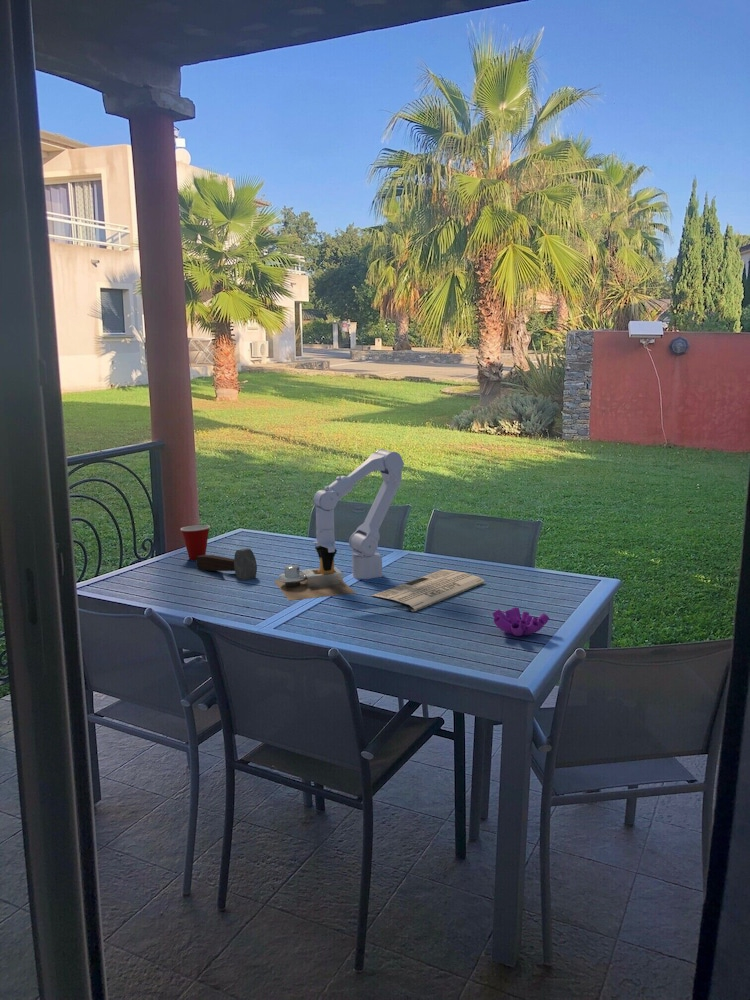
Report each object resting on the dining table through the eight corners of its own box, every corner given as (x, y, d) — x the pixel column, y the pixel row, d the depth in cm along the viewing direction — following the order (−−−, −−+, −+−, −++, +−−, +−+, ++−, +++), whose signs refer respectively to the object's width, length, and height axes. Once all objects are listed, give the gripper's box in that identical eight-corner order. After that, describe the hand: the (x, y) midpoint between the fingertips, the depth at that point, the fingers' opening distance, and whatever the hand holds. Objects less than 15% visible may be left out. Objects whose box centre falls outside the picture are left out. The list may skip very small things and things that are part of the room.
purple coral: (539, 654, 205) (529, 632, 199) (489, 641, 214) (478, 619, 208) (556, 620, 210) (547, 597, 204) (507, 608, 220) (497, 587, 214)
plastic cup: (202, 552, 298) (200, 521, 296) (217, 558, 290) (215, 526, 288) (176, 558, 291) (174, 526, 289) (191, 563, 283) (189, 531, 281)
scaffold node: (335, 576, 259) (335, 559, 258) (343, 583, 251) (342, 565, 250) (276, 582, 253) (275, 564, 252) (282, 590, 245) (281, 571, 244)
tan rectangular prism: (331, 577, 256) (331, 556, 255) (333, 579, 253) (334, 558, 252) (319, 578, 255) (319, 557, 253) (321, 580, 252) (321, 559, 251)
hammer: (196, 579, 277) (246, 584, 256) (192, 547, 276) (242, 550, 255) (207, 576, 280) (258, 581, 259) (203, 545, 279) (254, 548, 258)
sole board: (336, 578, 263) (336, 574, 262) (356, 597, 242) (356, 593, 242) (274, 585, 256) (274, 580, 256) (289, 605, 236) (288, 600, 235)
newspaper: (440, 575, 267) (440, 567, 266) (488, 586, 254) (489, 578, 254) (368, 602, 240) (368, 593, 239) (419, 615, 227) (419, 606, 227)
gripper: (307, 524, 256) (308, 564, 259) (318, 533, 243) (319, 576, 245) (328, 522, 259) (329, 562, 261) (340, 531, 245) (341, 573, 248)
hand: (326, 569), depth 253 cm, fingers closed on tan rectangular prism, 2 cm apart
